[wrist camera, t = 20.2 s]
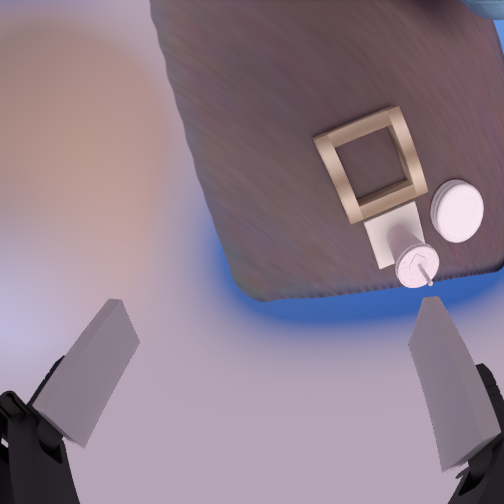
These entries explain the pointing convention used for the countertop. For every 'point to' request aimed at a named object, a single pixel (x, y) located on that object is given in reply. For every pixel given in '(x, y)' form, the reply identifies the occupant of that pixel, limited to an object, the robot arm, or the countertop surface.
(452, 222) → the coaster
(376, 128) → the square wooden frame
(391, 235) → the smoothie
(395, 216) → the tile
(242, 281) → the countertop surface
